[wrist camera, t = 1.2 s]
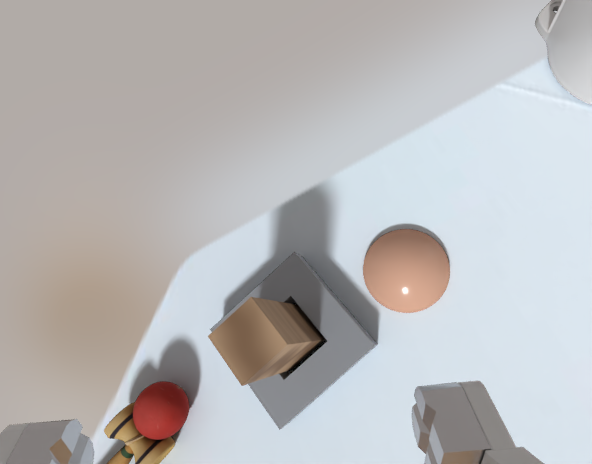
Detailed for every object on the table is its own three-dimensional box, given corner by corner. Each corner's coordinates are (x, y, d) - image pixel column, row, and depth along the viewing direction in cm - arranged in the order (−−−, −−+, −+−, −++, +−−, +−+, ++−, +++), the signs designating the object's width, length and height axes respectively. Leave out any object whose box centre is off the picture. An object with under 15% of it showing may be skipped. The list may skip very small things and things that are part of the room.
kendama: (127, 525, 49) (212, 414, 46) (77, 548, 44) (170, 425, 41) (102, 468, 53) (179, 364, 51) (53, 483, 48) (136, 367, 45)
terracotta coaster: (392, 215, 47) (392, 214, 46) (466, 258, 43) (467, 257, 43) (348, 281, 46) (347, 281, 46) (418, 330, 43) (418, 330, 43)
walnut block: (297, 304, 48) (251, 296, 34) (325, 339, 46) (287, 344, 33) (266, 333, 48) (207, 336, 35) (292, 369, 46) (241, 385, 33)
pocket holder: (301, 256, 49) (294, 252, 46) (377, 344, 44) (374, 345, 41) (222, 329, 50) (210, 329, 47) (288, 423, 45) (279, 429, 42)
